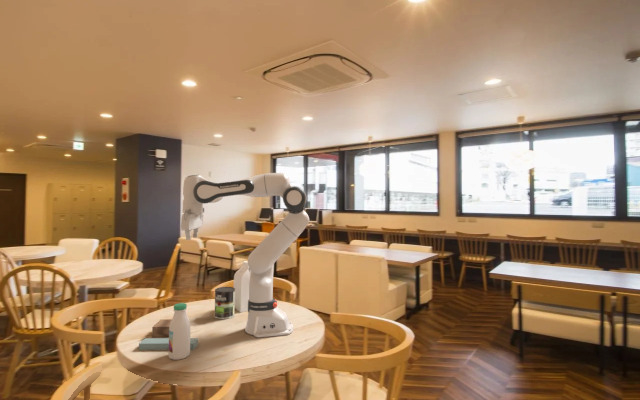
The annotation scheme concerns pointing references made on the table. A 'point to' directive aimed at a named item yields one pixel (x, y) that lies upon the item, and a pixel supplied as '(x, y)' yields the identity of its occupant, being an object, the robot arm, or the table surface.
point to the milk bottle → (179, 333)
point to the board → (162, 344)
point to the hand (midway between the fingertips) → (191, 238)
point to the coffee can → (224, 302)
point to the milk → (242, 287)
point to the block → (161, 329)
